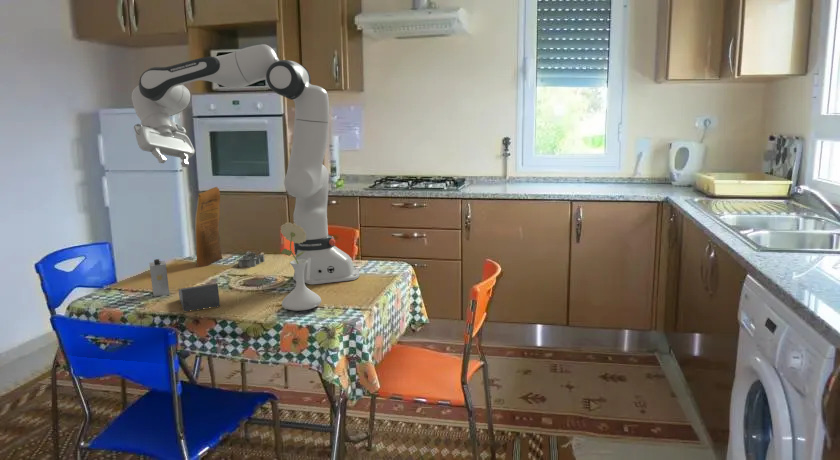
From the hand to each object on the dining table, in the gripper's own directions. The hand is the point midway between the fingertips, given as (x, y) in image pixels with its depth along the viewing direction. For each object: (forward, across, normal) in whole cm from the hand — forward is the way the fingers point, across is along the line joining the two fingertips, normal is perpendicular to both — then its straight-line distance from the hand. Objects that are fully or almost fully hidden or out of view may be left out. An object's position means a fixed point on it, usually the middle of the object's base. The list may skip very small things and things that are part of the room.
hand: (174, 164), depth 200 cm
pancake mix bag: (+17, +38, +33) cm, 53 cm away
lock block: (+32, +1, +26) cm, 42 cm away
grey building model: (+26, +41, +19) cm, 52 cm away
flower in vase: (+62, +5, -16) cm, 64 cm away
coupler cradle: (+44, -2, +11) cm, 46 cm away
